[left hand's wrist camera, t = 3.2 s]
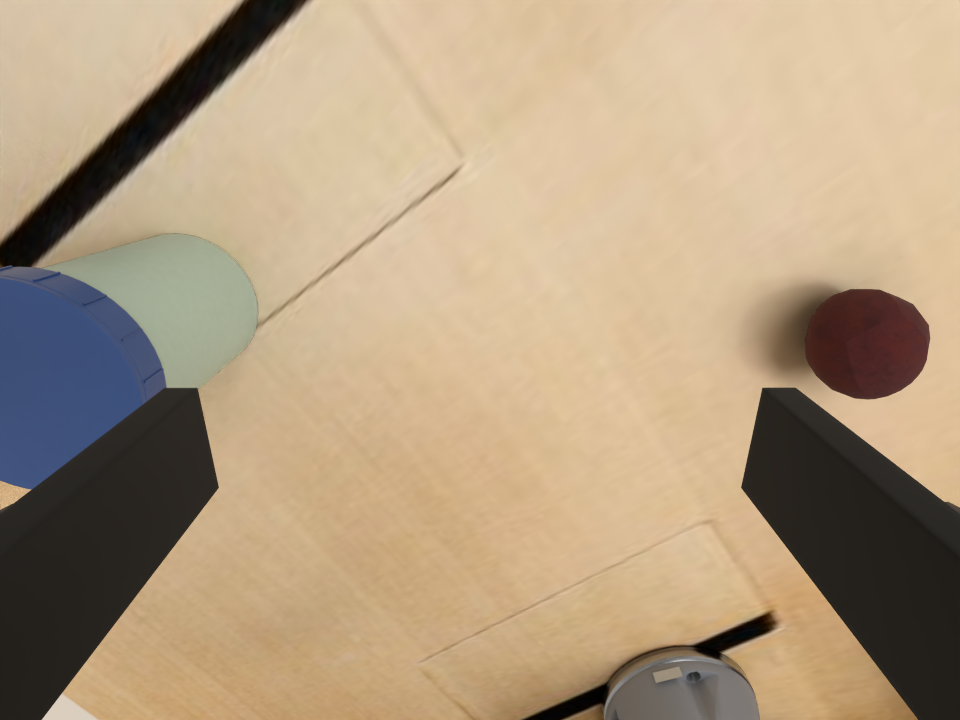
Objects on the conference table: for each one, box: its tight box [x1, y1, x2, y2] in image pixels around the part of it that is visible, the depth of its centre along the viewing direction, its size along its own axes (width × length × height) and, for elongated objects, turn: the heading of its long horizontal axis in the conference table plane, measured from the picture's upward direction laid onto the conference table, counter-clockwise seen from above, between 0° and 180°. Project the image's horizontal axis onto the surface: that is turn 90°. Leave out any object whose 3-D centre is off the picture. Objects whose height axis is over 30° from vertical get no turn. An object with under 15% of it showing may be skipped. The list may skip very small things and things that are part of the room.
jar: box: [40, 234, 258, 390], centre depth 33 cm, size 10×10×16 cm
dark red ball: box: [805, 289, 930, 399], centre depth 38 cm, size 7×8×7 cm
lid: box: [0, 266, 167, 489], centre depth 27 cm, size 11×11×2 cm
